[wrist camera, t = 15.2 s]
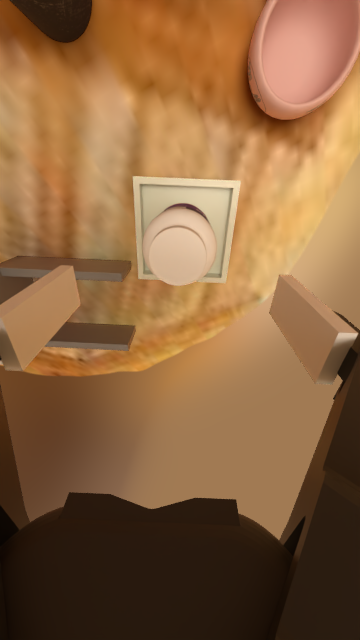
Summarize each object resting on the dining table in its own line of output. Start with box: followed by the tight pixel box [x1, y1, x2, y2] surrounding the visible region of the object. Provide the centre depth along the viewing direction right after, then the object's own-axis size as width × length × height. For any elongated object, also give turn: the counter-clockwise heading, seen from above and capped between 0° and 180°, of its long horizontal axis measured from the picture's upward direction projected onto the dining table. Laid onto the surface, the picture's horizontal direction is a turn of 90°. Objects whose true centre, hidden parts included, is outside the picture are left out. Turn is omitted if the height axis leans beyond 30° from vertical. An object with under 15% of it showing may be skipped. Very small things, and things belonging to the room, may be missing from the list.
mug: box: [248, 0, 360, 120], centre depth 23 cm, size 12×10×6 cm
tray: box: [133, 176, 241, 283], centre depth 34 cm, size 14×14×2 cm
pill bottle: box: [142, 203, 217, 286], centre depth 28 cm, size 8×8×14 cm
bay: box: [0, 256, 136, 365], centre depth 36 cm, size 18×13×11 cm
